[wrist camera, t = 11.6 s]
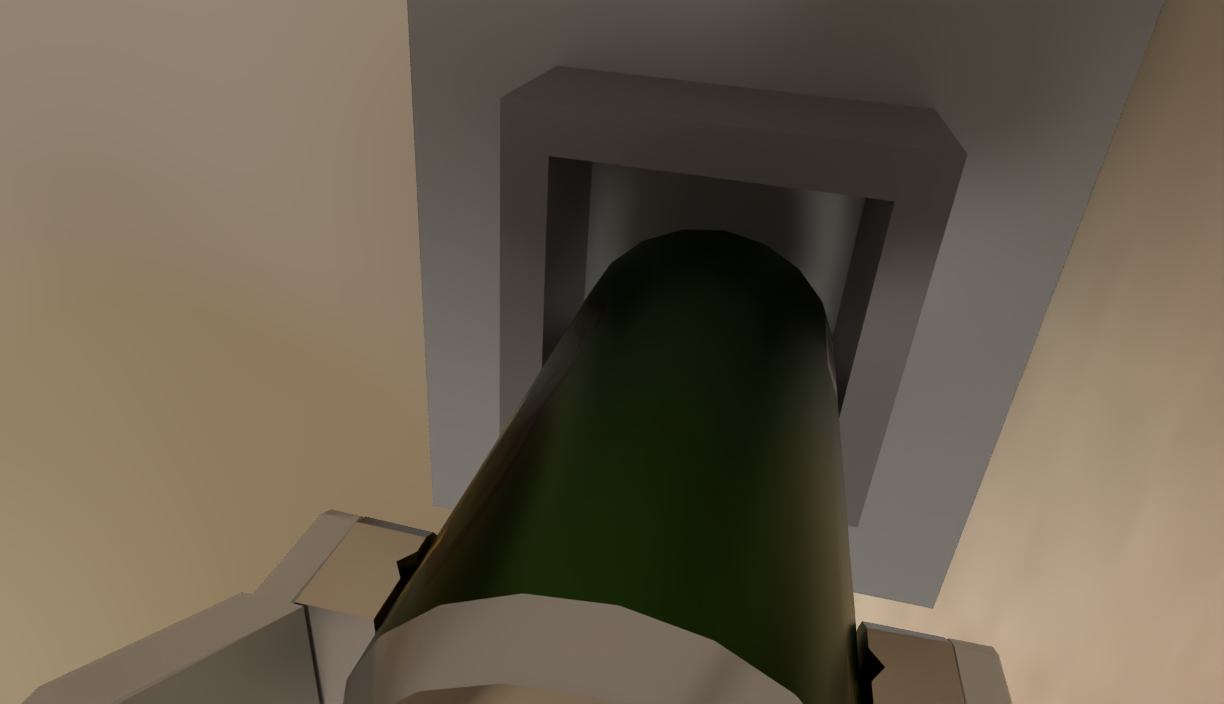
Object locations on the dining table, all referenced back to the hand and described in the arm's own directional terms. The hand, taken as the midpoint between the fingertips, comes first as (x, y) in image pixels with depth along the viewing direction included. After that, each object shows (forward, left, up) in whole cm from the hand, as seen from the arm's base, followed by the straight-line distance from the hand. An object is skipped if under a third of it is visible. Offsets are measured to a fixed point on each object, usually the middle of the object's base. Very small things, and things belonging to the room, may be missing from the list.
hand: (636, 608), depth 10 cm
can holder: (0, 0, -13) cm, 13 cm away
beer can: (0, 0, -9) cm, 9 cm away
